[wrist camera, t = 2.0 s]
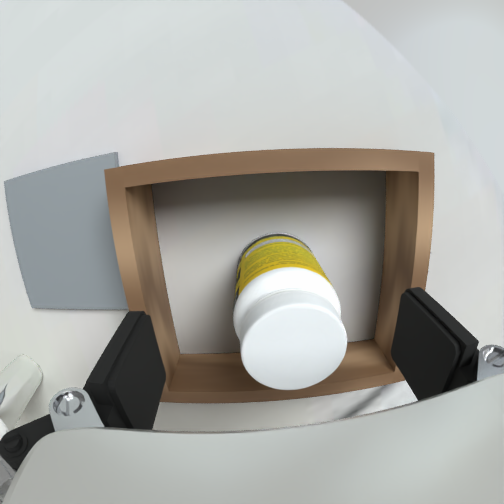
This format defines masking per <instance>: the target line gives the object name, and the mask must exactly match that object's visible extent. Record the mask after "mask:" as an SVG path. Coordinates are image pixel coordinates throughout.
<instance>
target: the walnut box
mask: <svg viewBox="0 0 504 504" xmlns="http://www.w3.org/2000/svg"><path fill="white" fill-rule="evenodd" d="M329 170H384V171H386V216H385V240H384V257H383V270H382V281H381V291H380V300H379V308H378V316H377V323H376V330H375V337H374V339H370V340H363V341H356V342H349V343H347V348H346V352H345V355H344V358H343V360H342V362H341V363H340V365H339V366H338V367H337V369H336V370H335V371H334V372H333V373H332V374H331V375H329V376H328V377H327V378H325V379H324V380H322V381H320V382H319V383H317V384H314V385H312V386H309V387H306V388H302V389H297V390H280V389H275V388H271V387H268V386H265V385H263V384H261V383H259V382H258V381H256V380H255V379H254V378H253V377H252V376H251V375H250V374H249V373H248V372H247V370H246V369H245V367H244V365H243V362H242V359H241V353H217V354H180V351H179V347H178V342H177V338H176V333H175V329H174V324H173V319H172V314H171V309H170V304H169V299H168V294H167V289H166V283H165V278H164V272H163V266H162V260H161V254H160V247H159V241H158V234H157V227H156V220H155V212H154V204H153V196H152V187H151V184H153V183H161V182H169V181H178V180H187V179H196V178H206V177H217V176H229V175H242V174H256V173H273V172H295V171H329ZM104 175H105V184H106V192H107V200H108V207H109V214H110V220H111V227H112V233H113V238H114V244H115V249H116V255H117V260H118V265H119V270H120V274H121V279H122V283H123V288H124V292H125V296H126V300H127V304H128V308H129V311H144V312H145V313H146V315H150V317H151V320H152V324H153V328H154V332H155V336H156V339H157V343H158V347H159V350H160V354H161V357H162V361H163V364H164V367H165V371H166V381H165V385H164V388H163V392H162V395H161V399H160V402H174V403H244V402H263V401H277V400H289V399H299V398H308V397H316V396H324V395H331V394H338V393H344V392H350V391H356V390H362V389H367V388H372V387H377V386H382V385H387V384H391V383H396V382H400V381H405V378H404V376H403V375H402V373H401V372H400V370H399V369H398V367H397V365H396V364H395V362H394V361H393V359H392V357H391V347H392V342H393V337H394V332H395V327H396V322H397V316H398V310H399V304H400V298H401V295H402V293H404V292H405V290H406V289H409V288H415V287H420V288H422V289H423V290H424V291H425V287H426V281H427V274H428V266H429V258H430V249H431V238H432V226H433V209H434V153H431V152H419V151H405V150H387V149H357V148H309V149H278V150H259V151H243V152H231V153H219V154H209V155H199V156H190V157H182V158H174V159H166V160H159V161H152V162H145V163H139V164H133V165H127V166H121V167H115V168H110V169H105V170H104Z"/></svg>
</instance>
